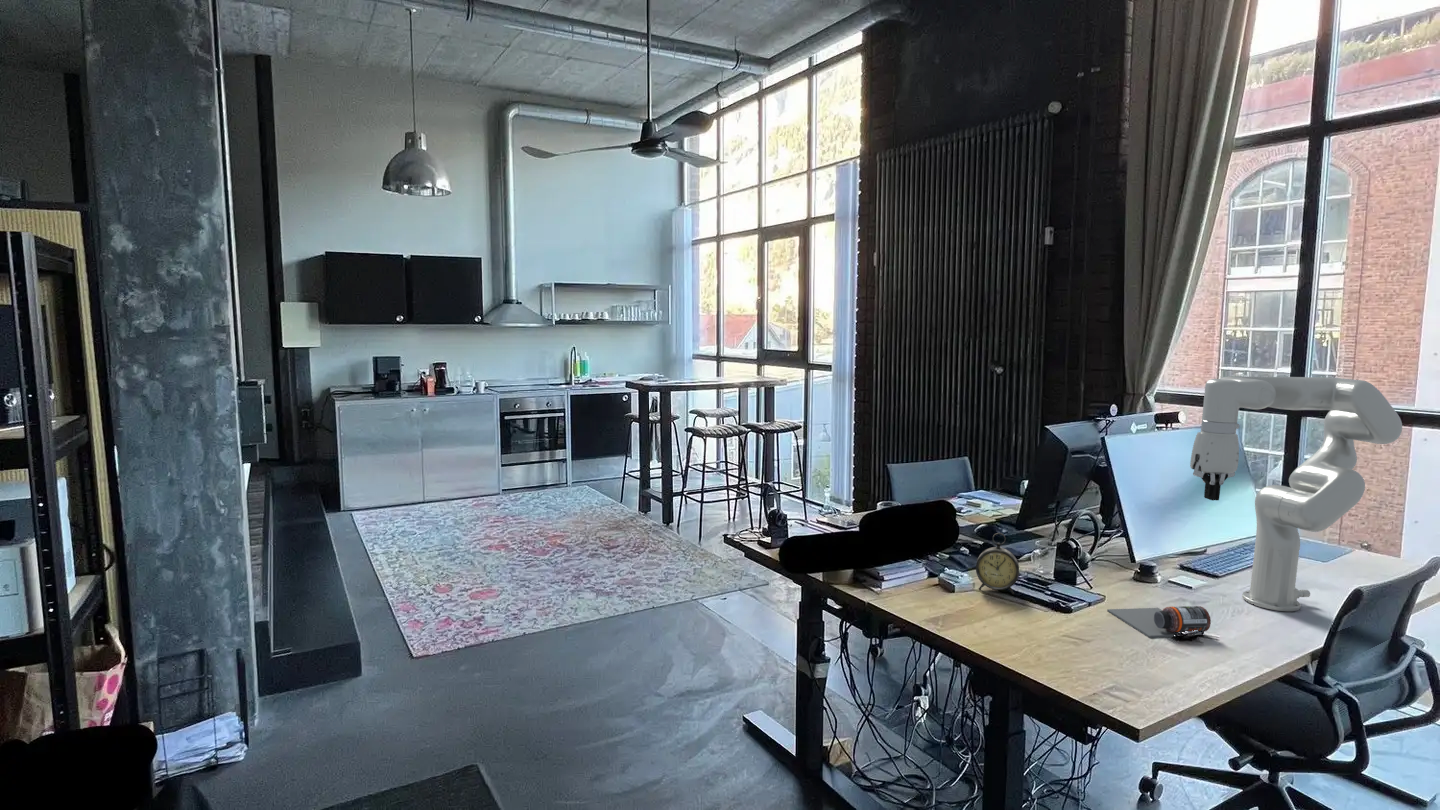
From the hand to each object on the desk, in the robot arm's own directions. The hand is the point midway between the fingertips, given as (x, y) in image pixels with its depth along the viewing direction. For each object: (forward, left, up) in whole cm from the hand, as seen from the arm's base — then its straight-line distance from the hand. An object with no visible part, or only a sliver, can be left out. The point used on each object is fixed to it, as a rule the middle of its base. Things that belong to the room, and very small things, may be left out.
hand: (1211, 499), depth 196 cm
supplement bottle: (+11, +14, -26) cm, 31 cm away
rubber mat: (+19, +8, -29) cm, 36 cm away
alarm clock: (+48, -16, -29) cm, 58 cm away
